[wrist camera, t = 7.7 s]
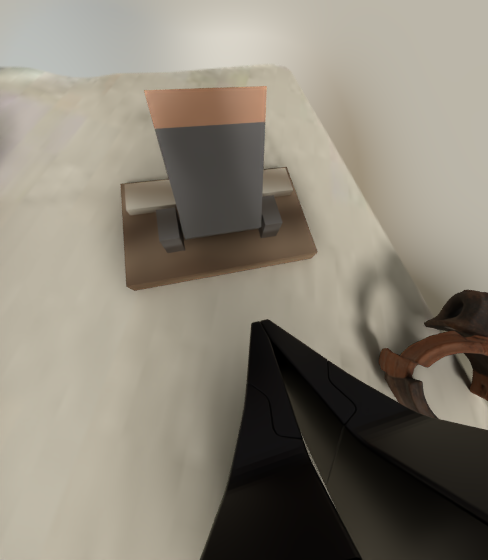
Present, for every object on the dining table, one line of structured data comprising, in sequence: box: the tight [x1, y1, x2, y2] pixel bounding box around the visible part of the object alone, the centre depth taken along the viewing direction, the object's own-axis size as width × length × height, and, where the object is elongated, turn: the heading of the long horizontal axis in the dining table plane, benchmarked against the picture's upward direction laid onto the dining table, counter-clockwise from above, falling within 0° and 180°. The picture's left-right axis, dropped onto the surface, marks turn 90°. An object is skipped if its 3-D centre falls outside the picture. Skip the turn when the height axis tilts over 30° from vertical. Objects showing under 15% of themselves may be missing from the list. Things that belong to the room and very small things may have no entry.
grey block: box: [144, 86, 267, 240], centre depth 15 cm, size 4×7×10 cm
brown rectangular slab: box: [121, 167, 317, 291], centre depth 19 cm, size 11×18×4 cm, turn 103°
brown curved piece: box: [379, 290, 488, 419], centre depth 16 cm, size 12×9×8 cm
